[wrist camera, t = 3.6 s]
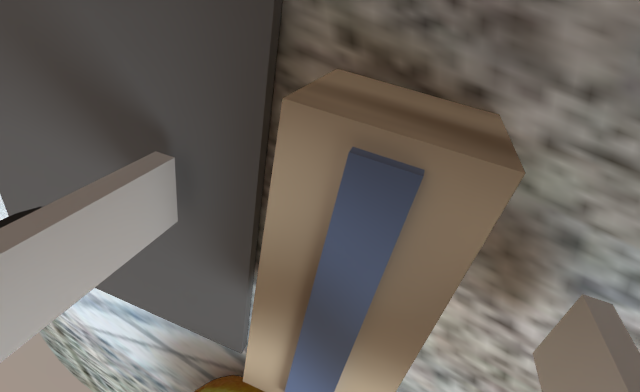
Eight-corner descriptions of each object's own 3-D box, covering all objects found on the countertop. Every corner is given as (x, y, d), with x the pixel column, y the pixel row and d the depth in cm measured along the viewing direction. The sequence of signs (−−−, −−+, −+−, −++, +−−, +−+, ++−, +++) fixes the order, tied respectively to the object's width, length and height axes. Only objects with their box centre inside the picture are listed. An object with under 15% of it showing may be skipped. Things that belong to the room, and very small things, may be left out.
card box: (339, 67, 10) (275, 101, 6) (498, 112, 9) (528, 180, 6) (288, 299, 15) (238, 389, 12) (386, 340, 14) (364, 450, 11)
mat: (-94, -105, 12) (-113, -109, 11) (284, -24, 9) (276, -25, 9) (32, 250, 20) (23, 255, 20) (246, 345, 17) (241, 353, 17)
